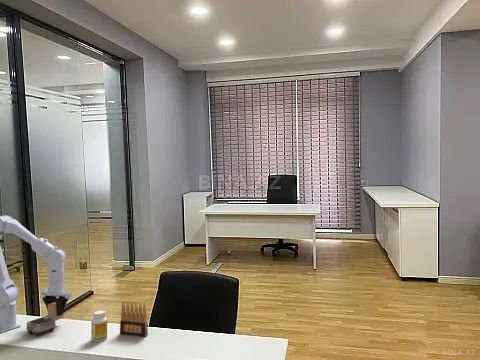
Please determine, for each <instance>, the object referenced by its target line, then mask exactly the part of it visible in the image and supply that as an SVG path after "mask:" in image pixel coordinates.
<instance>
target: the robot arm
mask: <svg viewBox="0 0 480 360" xmlns="http://www.w3.org/2000/svg"><path fill="white" fill-rule="evenodd" d="M5 234H15V235H16V236H17V237H19V238H20V239H22V240H23V241H25V242H26V243H28V244H30V247H31V250H32V251H33V252H35V253H36V254H37V255H38V256H40V257H41V258H43V259H44V260H45V261H46V264H47V265H48V270H47V271H48V272H47V274H48V275H47V289H46V288H45V289H41V290H40V296H42V299H41V300H42V301H43V302H44V305H45V308H46V310H47V312H48V304H51V303H54V302H55V303H56V307H57V316H61V315H63V316H64V311H65V308H66V305H67V303H68V301H69V300H70V298H72V292H70V291H68V290H65V289H64V288H65V286H64V285H65V284H64V283H65V261H66V258H67V255H66V252H65V251H64V249H62V248H59V247H58V246H55V245H53V244H51V243H50V242H49V239H48V238H43V237H39V238H38V237H37V236H35V235H34V234H33V233H32V232H30V231H29V230H28V229H27V228H26V227H25V226H23V225H22V224H21V223H20V222H19V221H18V220H16V219H15V218H13V216H10V215H0V240H1V239H2V238H3V236H4V235H5ZM2 249H3V248H2V246H1V245H0V333H4V332H7V331H11V330H13V329H16V328H20V327H22V325H21V324H20V323H17V299H18V297H20V296H19V295H20V290H19V288H18V287H17V286H16V285H15V282H14V281H13V280H12V279H11V278H10V274H9V271H8V267H7V264H6V260H5V257H4V253H3V250H2Z"/></svg>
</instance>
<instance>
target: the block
mask: <svg viewBox="0 0 480 360" xmlns="http://www.w3.org/2000/svg"><path fill="white" fill-rule="evenodd" d="M47 318H51V319H56V321H59V320H61V319H64V314H63V315H61V316H57V307H56V303H55V302H54V303H51V304H48V311H47Z"/></svg>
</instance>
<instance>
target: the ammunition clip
mask: <svg viewBox="0 0 480 360" xmlns="http://www.w3.org/2000/svg"><path fill="white" fill-rule="evenodd" d="M120 316H121V317H120V322H119V323H120V325H119V335H122V336H133V337H142V338H146V337H147V336H149V334H148V333H149V332H148V331H149V330H148V329H149V328H148V320H147V319H148V318H147V317H148V316H147V306H146V303H143V306H142V302H140V303H139V305H138V304H137V302H135V304H134V303H133V302H131V303H130V304H129V302H128V301H127V302H126V304H125V301H123V302H122V304H121V311H120Z"/></svg>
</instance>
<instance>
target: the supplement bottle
mask: <svg viewBox="0 0 480 360" xmlns="http://www.w3.org/2000/svg"><path fill="white" fill-rule="evenodd" d="M90 332H91V333H90V334H91V336H90V337H91V341H92V342H95V343H97V342H99V343H100V342H103V341H106V340H107V339H108V318H107V317H106V310H97V311H94V312H93V318H92V319H91V331H90Z"/></svg>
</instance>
